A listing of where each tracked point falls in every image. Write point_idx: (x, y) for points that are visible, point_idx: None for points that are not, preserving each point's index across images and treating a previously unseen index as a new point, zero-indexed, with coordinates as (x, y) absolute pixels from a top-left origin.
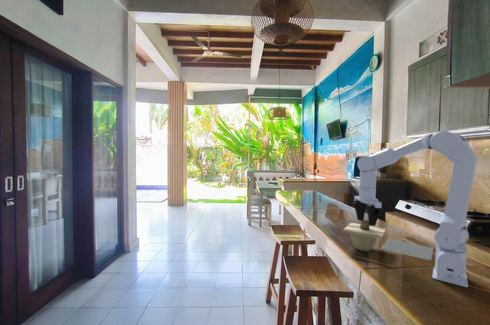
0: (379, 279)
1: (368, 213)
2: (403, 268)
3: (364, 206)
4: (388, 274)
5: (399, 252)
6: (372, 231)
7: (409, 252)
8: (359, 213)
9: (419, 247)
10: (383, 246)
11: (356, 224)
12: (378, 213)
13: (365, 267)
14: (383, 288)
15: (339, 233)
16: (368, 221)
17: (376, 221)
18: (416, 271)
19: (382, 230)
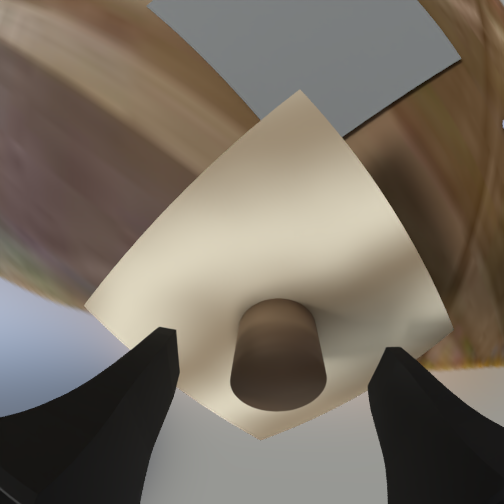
0: (467, 358)
1: (401, 493)
2: (476, 240)
3: (92, 472)
4: (471, 321)
5: (370, 99)
6: (355, 314)
7: (374, 46)
8: (151, 423)
9: None
10: (265, 111)
11: (131, 304)
12: (487, 442)
13: (417, 359)
14: (483, 367)
15: (43, 230)
16: (292, 358)
17: (427, 372)
18: (499, 214)
19: (355, 191)
